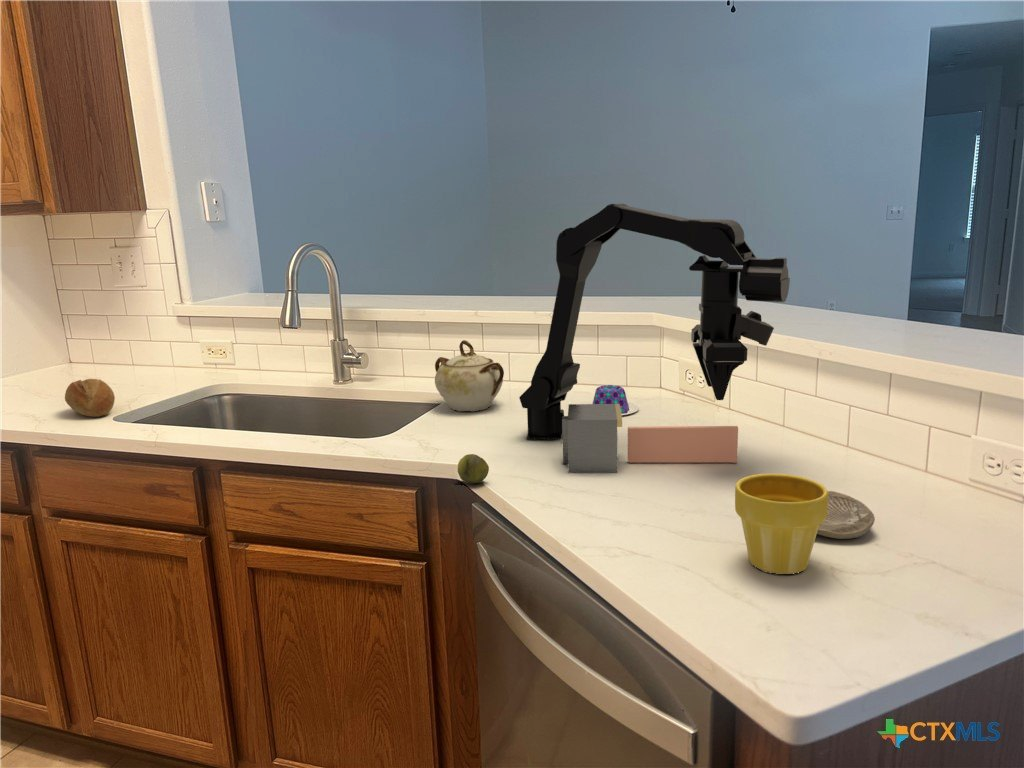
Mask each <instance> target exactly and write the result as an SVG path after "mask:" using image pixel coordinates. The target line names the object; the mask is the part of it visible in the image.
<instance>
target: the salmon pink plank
mask: <svg viewBox="0 0 1024 768" xmlns="http://www.w3.org/2000/svg"><path fill="white" fill-rule="evenodd" d="M738 441H739V427H738V426H737V425H717V426H716V425H713V426H712V425H711V426H710V425H709V426H708V425H706V426H705V425H702V426H701V425H699V426H698V425H697V426H695V425H694V426H693V425H692V426H691V425H690V426H688V425H686V426H684V425H682V426H679V425H678V426H677V425H676V426H674V425H673V426H670V425H669V426H627V463H738V445H739V444H738V443H739V442H738Z"/></svg>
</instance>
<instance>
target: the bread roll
mask: <svg viewBox="0 0 1024 768" xmlns="http://www.w3.org/2000/svg"><path fill="white" fill-rule="evenodd" d="M115 397H116V396H115V393H114V391H113V390H112V387H110V385H108V383H106V382H105V381H103V380H101V379H99V378H98V379H97V378H86V379H83V380H81V379H78V380H75V381H72V382H71V383H69V385H68V386H67V388H66V389H65V393H64V400H65V402H66V404H67V405H68V406H69V407H70V408H71V409H72V411H73V412H76V413H77V414H79V415H82V416H85V417H90V418H94V417H102V416H105V415H108V413H109V412H111V410H112V409H113V408H114V404H115Z"/></svg>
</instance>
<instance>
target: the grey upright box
mask: <svg viewBox="0 0 1024 768" xmlns="http://www.w3.org/2000/svg"><path fill="white" fill-rule="evenodd" d="M567 409H568V410H567V415H564V416H562V436H561V440H562V465H565V466H566V465H567V469H568V471H567V472H568V474H569V473H573V474H576V473H578V474H582V473H585V474H586V473H588V474H589V473H590V474H591V473H592V474H594V473H595V474H598V473H599V474H601V473H602V474H603V473H605V474H607V473H609V474H610V473H611V474H616V473H618V428H623V415H622V414H621V409H620V404H589V403H570V404H568V408H567Z"/></svg>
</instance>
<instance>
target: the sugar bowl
mask: <svg viewBox="0 0 1024 768" xmlns="http://www.w3.org/2000/svg"><path fill="white" fill-rule="evenodd" d="M464 346H467V347H468V348H469V351H468V352H465V350H464ZM459 351H460V352H459V353H460V354H459V355H457V356H454V357H452V358H450V359H449V358H446V357H443V356H442V357H441V356H440V357H438V358H436V360H435V363H434V368H435V372H436V373H435V376H434V384H435V385H434V386H435V388H436V390H437V391H438V393H439V395H440V396H441V397H442V399H443V400H444V401H445V402H446V403H447V405H448V406H449V407H450V409H451V408H452V409H453V411H455V410H457V411H456V412H461V411H471V412H479V410H480V411H483V410H487V409H488V407H489V408H490V407H491V405H492V403H493V401H494V400H495V398H496V397H497V395H498V393H499V392H500V390H501V388H502V386H503V382H504V376H505V371H504V368H503V366H502V364H501V363H499V362H494V360H493V359H492V358H489V357H486V356H483V355H480V354H477V353H476V352H474V351H475V350H474V347H473V345H472V344H471V343H470V342H469V341H468V340H461V342H460V343H459ZM452 409H451V410H452Z"/></svg>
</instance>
